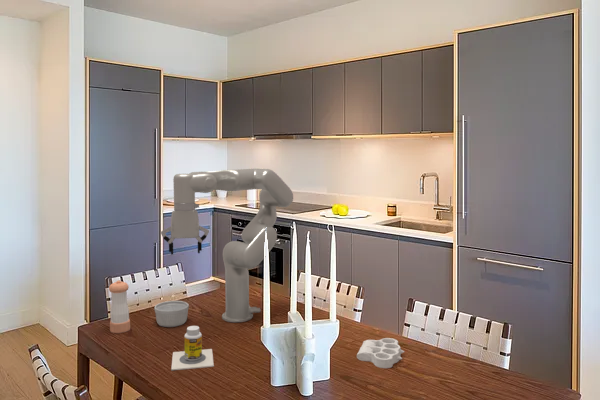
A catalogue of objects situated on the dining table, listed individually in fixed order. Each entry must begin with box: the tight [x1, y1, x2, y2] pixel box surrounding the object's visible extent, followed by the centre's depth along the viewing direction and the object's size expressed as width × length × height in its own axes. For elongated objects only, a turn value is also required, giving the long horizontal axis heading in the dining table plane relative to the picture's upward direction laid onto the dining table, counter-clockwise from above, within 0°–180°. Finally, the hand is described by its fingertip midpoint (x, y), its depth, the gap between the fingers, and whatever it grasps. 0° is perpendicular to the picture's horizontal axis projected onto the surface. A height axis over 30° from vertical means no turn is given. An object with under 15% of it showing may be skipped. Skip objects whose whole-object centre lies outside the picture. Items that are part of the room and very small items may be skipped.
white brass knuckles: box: [356, 337, 405, 369], centre depth 160 cm, size 3×18×15 cm
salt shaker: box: [108, 280, 131, 334], centre depth 182 cm, size 7×7×19 cm
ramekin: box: [154, 300, 190, 328], centre depth 191 cm, size 13×13×7 cm
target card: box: [170, 348, 215, 371], centre depth 157 cm, size 13×13×1 cm
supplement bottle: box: [183, 325, 203, 361], centre depth 156 cm, size 6×6×10 cm
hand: (185, 253), depth 178 cm, fingers open, 9 cm apart
